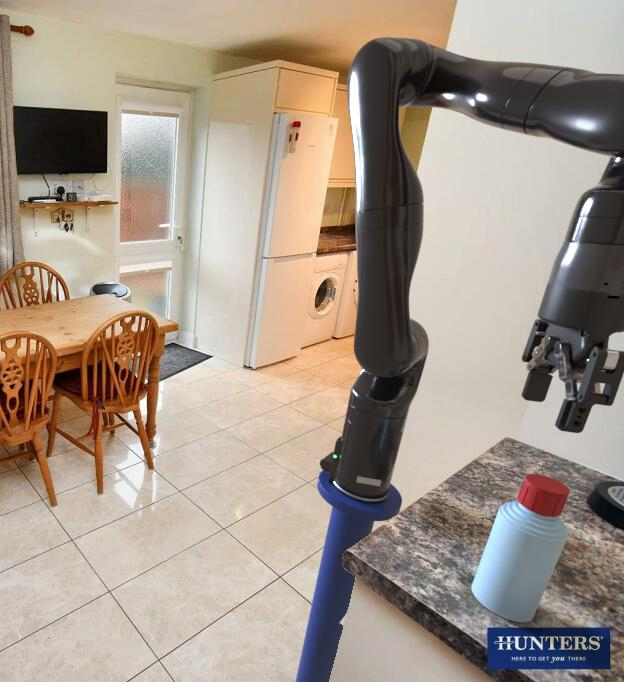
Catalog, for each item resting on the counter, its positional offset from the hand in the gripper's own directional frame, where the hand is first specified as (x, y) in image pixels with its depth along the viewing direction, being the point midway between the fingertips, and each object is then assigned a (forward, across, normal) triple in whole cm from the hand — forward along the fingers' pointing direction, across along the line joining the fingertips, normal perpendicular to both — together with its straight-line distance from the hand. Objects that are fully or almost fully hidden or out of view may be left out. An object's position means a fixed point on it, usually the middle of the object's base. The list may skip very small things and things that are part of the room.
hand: (548, 414), depth 55 cm
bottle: (+26, +4, 0) cm, 26 cm away
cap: (+10, +4, 0) cm, 11 cm away
